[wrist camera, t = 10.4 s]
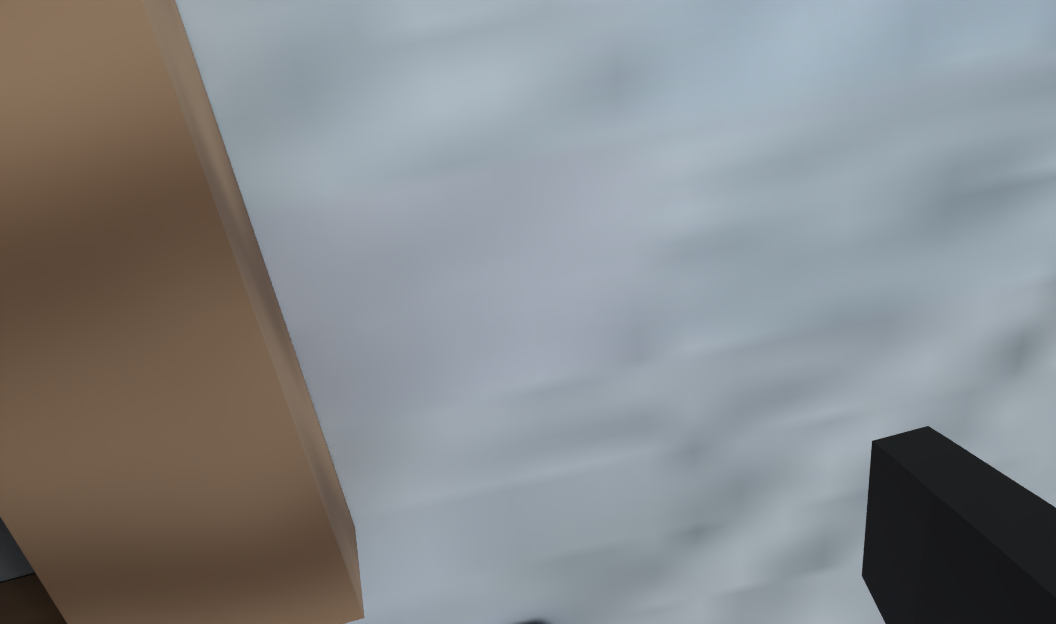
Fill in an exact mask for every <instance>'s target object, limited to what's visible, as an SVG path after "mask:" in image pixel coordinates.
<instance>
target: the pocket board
mask: <svg viewBox="0 0 1056 624" xmlns="http://www.w3.org/2000/svg"><path fill="white" fill-rule="evenodd" d="M0 517H1V519H2V520H3V522H4V523H5V525H6V527H7V528H8V530H9V531H10V533H11V535H12V536H13V538H14V539H15V541H16V543H17V544H18V546H19V547H20V549H21V551H22V552H23V554H24V555H25V557H26V559H27V560H28V562H29V563H30V565H31V567H32V568H33V570H34V571H35V573H36V574H34V575H30V576H26V577H22V578H18V579H14V580H10V581H6V582H3V583H0V624H344V623H347V622H351V621H355V620H359V619H362V618H364V610H363V600H362V591H361V581H360V572H359V562H358V553H357V543H356V534H355V526H354V524H353V521H352V518H351V515H350V512H349V509H348V506H347V503H346V500H345V497H344V494H343V491H342V488H341V485H340V483H339V480H338V477H337V474H336V471H335V468H334V465H333V462H332V459H331V456H330V453H329V450H328V447H327V444H326V441H325V439H324V436H323V433H322V430H321V427H320V424H319V421H318V418H317V415H316V412H315V409H314V406H313V403H312V400H311V398H310V395H309V392H308V389H307V386H306V383H305V380H304V377H303V374H302V371H301V368H300V365H299V362H298V359H297V356H296V354H295V351H294V348H293V345H292V342H291V339H290V336H289V333H288V330H287V327H286V324H285V321H284V318H283V315H282V313H281V310H280V307H279V304H278V301H277V298H276V295H275V292H274V289H273V286H272V283H271V280H270V277H269V274H268V271H267V269H266V266H265V263H264V260H263V257H262V254H261V251H260V248H259V245H258V242H257V239H256V236H255V233H254V230H253V228H252V225H251V222H250V219H249V216H248V213H247V210H246V207H245V204H244V201H243V198H242V195H241V192H240V189H239V187H238V184H237V181H236V178H235V175H234V172H233V169H232V166H231V163H230V160H229V157H228V154H227V151H226V148H225V145H224V143H223V140H222V137H221V134H220V131H219V128H218V125H217V122H216V119H215V116H214V113H213V110H212V107H211V104H210V102H209V99H208V96H207V93H206V90H205V87H204V84H203V81H202V78H201V75H200V72H199V69H198V66H197V63H196V60H195V58H194V55H193V52H192V49H191V46H190V43H189V40H188V37H187V34H186V31H185V28H184V25H183V22H182V19H181V17H180V14H179V11H178V8H177V5H176V2H175V0H0Z"/></svg>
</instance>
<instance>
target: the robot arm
mask: <svg viewBox="0 0 1056 624" xmlns="http://www.w3.org/2000/svg"><path fill="white" fill-rule="evenodd" d="M862 577H863V579H864V581H865V583H866V585H867V587H868V589H869V591H870V593H871V595H872V597H873V599H874V601H875V603H876V605H877V607H878V609H879V611H880V613H881V615H882V617H883V619H884V621H885V623H886V624H1056V508H1055V507H1054V506H1052V505H1051V504H1049V503H1048V502H1046V501H1044V500H1043V499H1041V498H1040V497H1038V496H1037V495H1035V494H1033V493H1032V492H1030V491H1029V490H1027V489H1026V488H1024V487H1022V486H1021V485H1019V484H1018V483H1016V482H1015V481H1013V480H1012V479H1010V478H1009V477H1007V476H1005V475H1004V474H1002V473H1001V472H999V471H998V470H996V469H995V468H993V467H992V466H990V465H988V464H987V463H985V462H984V461H982V460H981V459H979V458H978V457H976V456H974V455H973V454H971V453H970V452H968V451H967V450H965V449H964V448H962V447H961V446H959V445H957V444H956V443H954V442H953V441H951V440H950V439H948V438H946V437H945V436H943V435H942V434H940V433H938V432H937V431H935V430H934V429H932V428H930V427H929V426H927V427H923V428H919V429H915V430H912V431H908V432H904V433H900V434H897V435H893V436H889V437H885V438H881V439H878V440H874V441H872V450H871V463H870V477H869V490H868V503H867V516H866V529H865V542H864V555H863V568H862Z"/></svg>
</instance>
